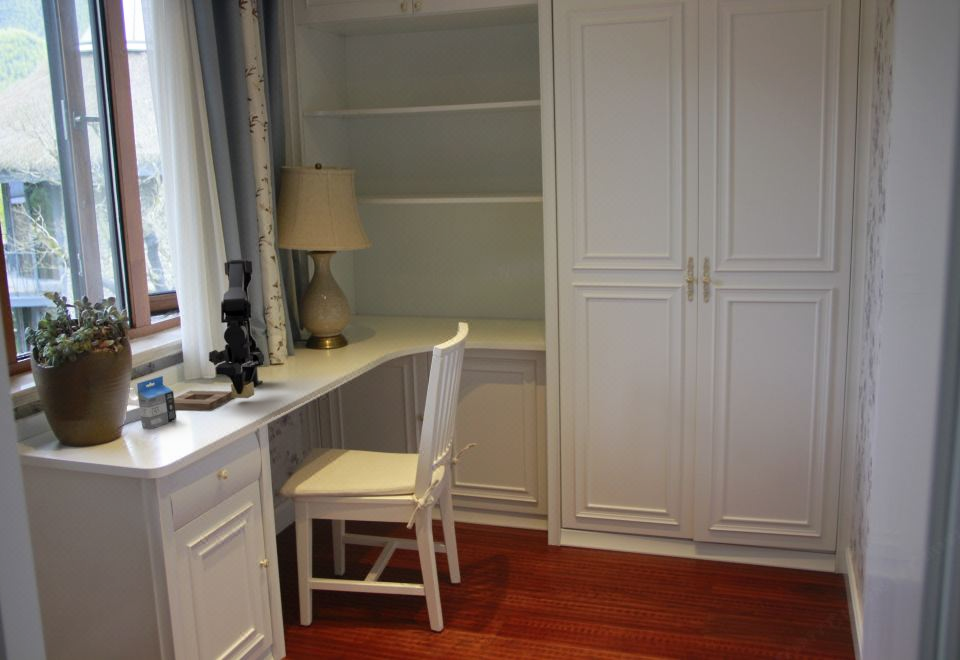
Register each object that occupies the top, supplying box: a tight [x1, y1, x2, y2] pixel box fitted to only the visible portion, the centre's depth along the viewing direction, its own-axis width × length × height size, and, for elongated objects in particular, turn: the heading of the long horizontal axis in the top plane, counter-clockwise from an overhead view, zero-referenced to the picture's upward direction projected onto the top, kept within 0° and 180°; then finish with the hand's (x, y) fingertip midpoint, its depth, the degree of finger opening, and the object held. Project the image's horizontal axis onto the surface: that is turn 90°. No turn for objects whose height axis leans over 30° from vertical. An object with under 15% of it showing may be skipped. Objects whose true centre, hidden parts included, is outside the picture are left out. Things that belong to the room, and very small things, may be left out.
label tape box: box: [136, 375, 177, 429], centre depth 233 cm, size 9×4×12 cm, turn 153°
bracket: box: [123, 387, 141, 425], centre depth 238 cm, size 13×7×8 cm, turn 152°
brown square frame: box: [174, 390, 233, 412], centre depth 254 cm, size 14×14×2 cm
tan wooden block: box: [230, 381, 255, 399], centre depth 252 cm, size 4×5×4 cm
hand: (242, 392), depth 252 cm, fingers closed on tan wooden block, 4 cm apart
